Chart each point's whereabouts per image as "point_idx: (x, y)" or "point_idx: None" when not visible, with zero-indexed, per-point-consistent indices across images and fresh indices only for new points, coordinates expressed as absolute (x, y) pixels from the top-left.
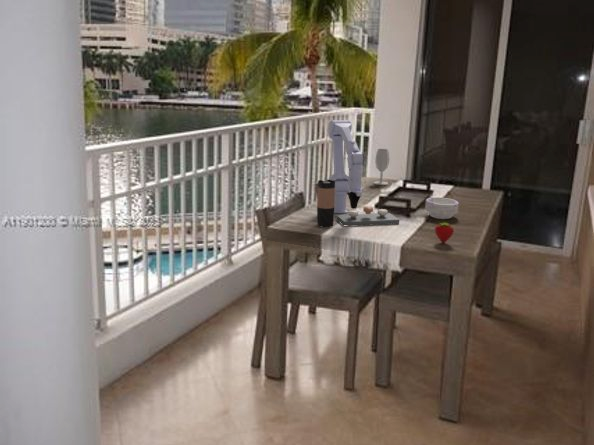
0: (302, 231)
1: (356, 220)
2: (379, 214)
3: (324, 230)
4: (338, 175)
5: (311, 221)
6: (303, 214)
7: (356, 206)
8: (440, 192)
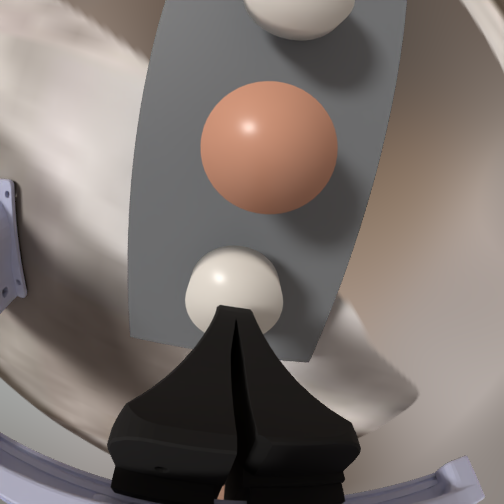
0: None
1: (314, 283)
2: (314, 38)
3: None
4: None
5: None
6: (52, 389)
7: (256, 323)
8: None
